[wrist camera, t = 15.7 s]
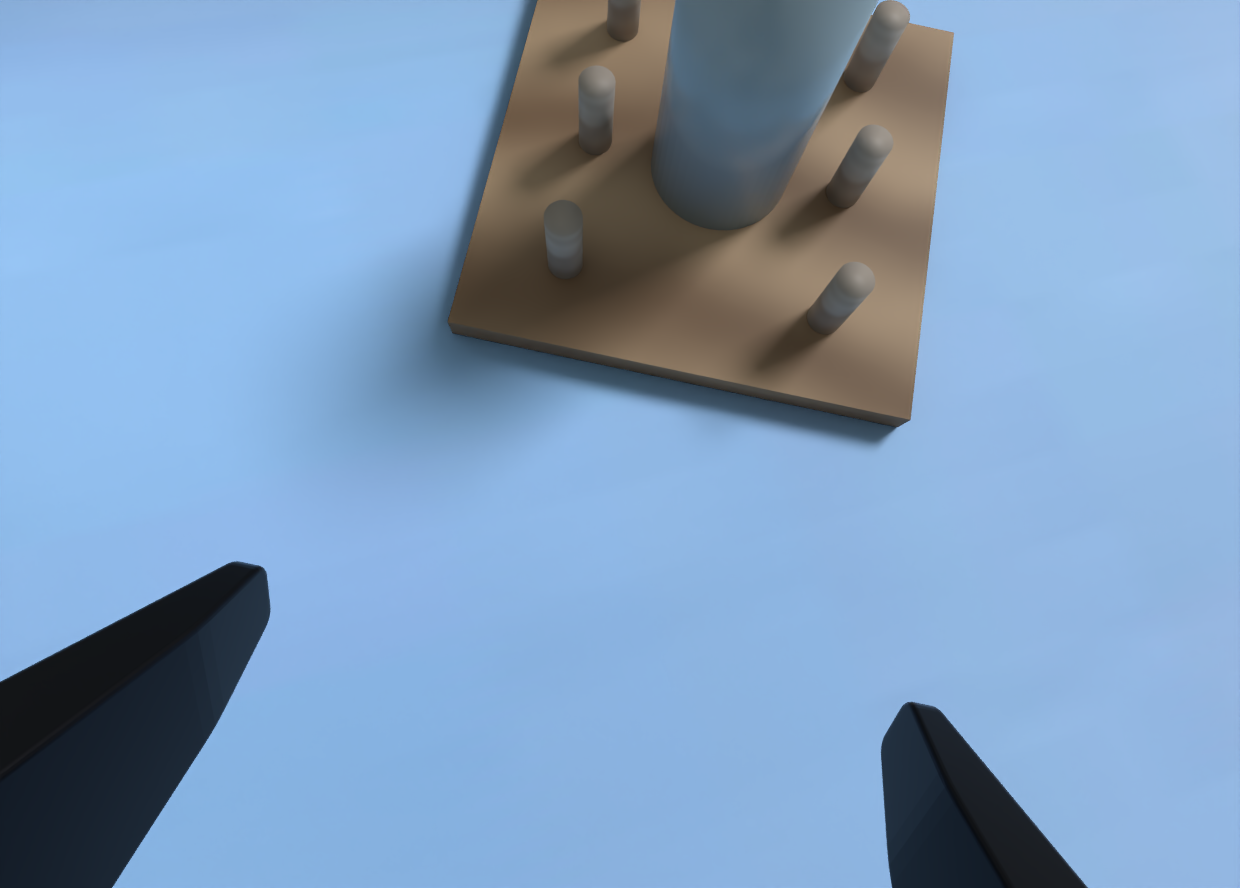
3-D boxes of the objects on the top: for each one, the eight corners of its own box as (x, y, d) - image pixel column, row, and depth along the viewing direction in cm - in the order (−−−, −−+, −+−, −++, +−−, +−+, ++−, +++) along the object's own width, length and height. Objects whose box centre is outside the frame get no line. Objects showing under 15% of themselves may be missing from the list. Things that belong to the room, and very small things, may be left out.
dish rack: (897, 427, 25) (955, 393, 21) (452, 333, 25) (429, 282, 21) (941, 51, 29) (997, -35, 25) (553, -31, 29) (549, -131, 25)
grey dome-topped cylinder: (811, 151, 26) (945, -111, 17) (743, 255, 25) (844, 40, 16) (696, 83, 27) (760, -212, 17) (624, 183, 26) (650, -71, 16)
